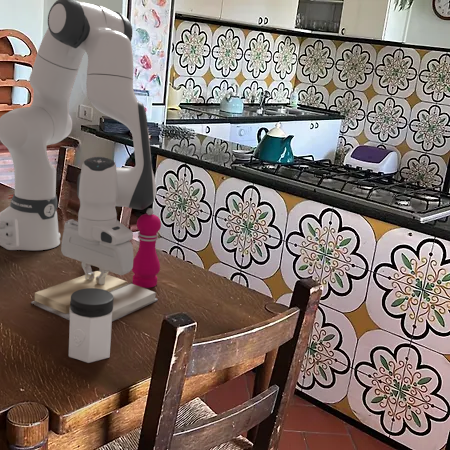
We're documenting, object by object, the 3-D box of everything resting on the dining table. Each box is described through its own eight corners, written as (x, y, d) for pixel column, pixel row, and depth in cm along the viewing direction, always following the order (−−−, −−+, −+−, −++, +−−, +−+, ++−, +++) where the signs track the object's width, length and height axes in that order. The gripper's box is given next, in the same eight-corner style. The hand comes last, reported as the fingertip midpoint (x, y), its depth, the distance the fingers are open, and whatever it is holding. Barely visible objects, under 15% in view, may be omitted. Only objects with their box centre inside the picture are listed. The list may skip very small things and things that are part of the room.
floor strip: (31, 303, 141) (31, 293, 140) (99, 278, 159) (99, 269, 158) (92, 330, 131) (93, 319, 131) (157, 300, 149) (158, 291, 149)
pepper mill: (153, 290, 155) (159, 214, 149) (126, 285, 156) (131, 209, 150) (162, 280, 162) (168, 207, 156) (136, 276, 163) (140, 202, 157)
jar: (58, 354, 120) (59, 297, 117) (82, 338, 128) (84, 284, 124) (97, 367, 117) (100, 309, 114) (120, 349, 125) (123, 294, 121)
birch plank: (34, 300, 141) (34, 292, 141) (96, 278, 158) (96, 270, 157) (66, 313, 136) (66, 305, 136) (126, 288, 153) (126, 281, 152)
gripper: (55, 219, 149) (54, 273, 153) (120, 240, 139) (118, 297, 143) (74, 215, 154) (73, 267, 158) (138, 234, 144) (135, 289, 148)
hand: (95, 281), depth 150 cm, fingers closed on birch plank, 2 cm apart
